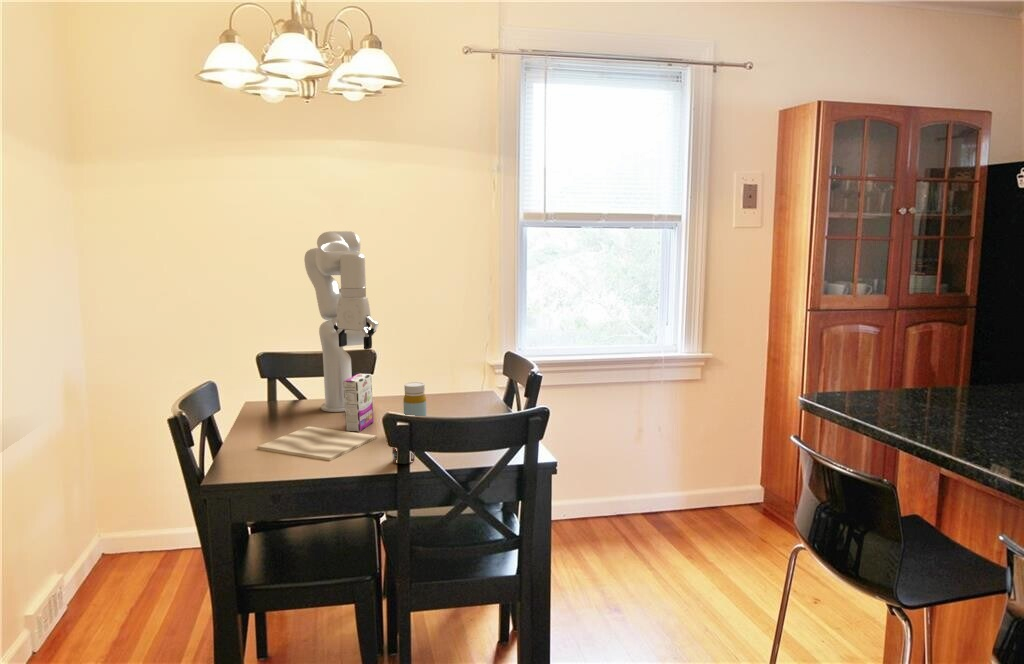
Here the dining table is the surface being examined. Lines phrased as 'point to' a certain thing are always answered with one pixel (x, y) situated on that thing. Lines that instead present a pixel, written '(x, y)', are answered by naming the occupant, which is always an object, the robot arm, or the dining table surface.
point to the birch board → (317, 443)
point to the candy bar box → (358, 402)
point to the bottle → (414, 399)
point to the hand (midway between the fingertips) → (355, 347)
